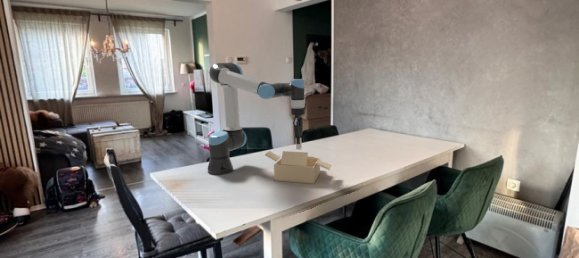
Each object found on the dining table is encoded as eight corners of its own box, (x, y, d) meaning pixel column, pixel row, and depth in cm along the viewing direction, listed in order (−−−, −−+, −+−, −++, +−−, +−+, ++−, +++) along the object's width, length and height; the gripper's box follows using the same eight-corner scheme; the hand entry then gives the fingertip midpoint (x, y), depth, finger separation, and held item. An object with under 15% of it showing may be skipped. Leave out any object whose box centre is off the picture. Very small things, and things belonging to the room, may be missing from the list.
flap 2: (280, 164, 169) (280, 164, 169) (283, 151, 172) (282, 151, 172) (306, 166, 165) (305, 165, 165) (307, 152, 168) (307, 152, 168)
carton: (274, 180, 172) (273, 164, 170) (284, 170, 189) (283, 156, 187) (313, 183, 166) (313, 167, 164) (320, 173, 183) (320, 158, 181)
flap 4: (329, 169, 167) (329, 170, 167) (331, 165, 175) (331, 165, 175) (316, 163, 169) (316, 164, 169) (319, 159, 176) (319, 160, 176)
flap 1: (276, 160, 175) (275, 161, 175) (280, 157, 182) (280, 157, 183) (264, 154, 176) (264, 154, 176) (269, 150, 184) (269, 151, 184)
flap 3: (293, 156, 194) (293, 157, 194) (290, 155, 187) (290, 156, 187) (315, 157, 190) (315, 158, 190) (313, 156, 183) (313, 157, 183)
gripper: (301, 108, 165) (302, 152, 169) (307, 106, 177) (308, 146, 181) (288, 108, 167) (289, 151, 171) (294, 106, 179) (295, 146, 183)
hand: (298, 149), depth 176 cm, fingers closed
